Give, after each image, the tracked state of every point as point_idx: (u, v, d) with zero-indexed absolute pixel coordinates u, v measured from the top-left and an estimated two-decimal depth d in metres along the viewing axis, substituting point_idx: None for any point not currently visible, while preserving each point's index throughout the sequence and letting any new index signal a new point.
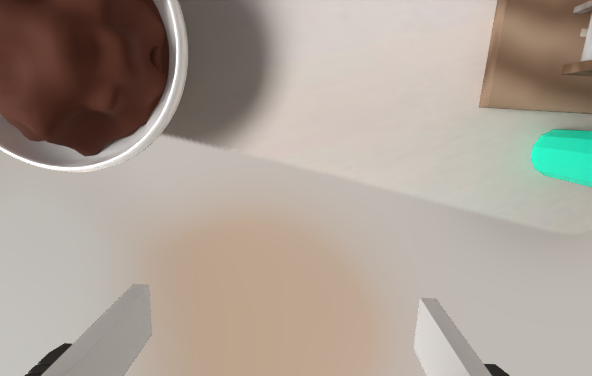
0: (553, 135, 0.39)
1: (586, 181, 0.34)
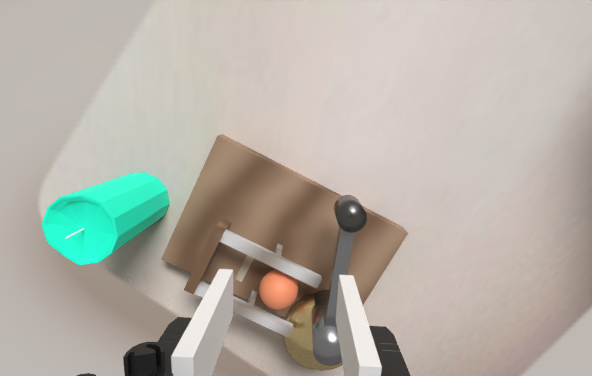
0: (160, 195, 0.35)
1: (84, 189, 0.28)
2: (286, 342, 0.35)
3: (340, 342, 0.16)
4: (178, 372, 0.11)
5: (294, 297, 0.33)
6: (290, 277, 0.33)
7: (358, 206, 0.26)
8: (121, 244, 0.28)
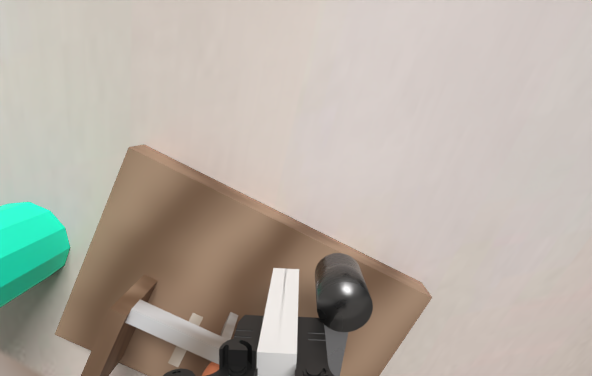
0: (48, 239, 0.22)
1: None
2: None
3: None
4: (262, 367, 0.12)
5: None
6: None
7: (356, 286, 0.14)
8: None
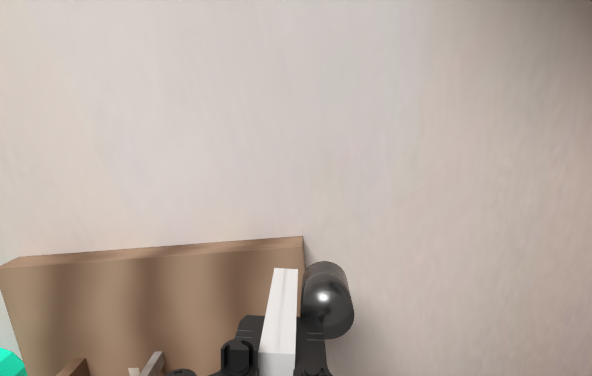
0: None
1: None
2: None
3: None
4: (264, 367, 0.12)
5: None
6: None
7: (343, 298, 0.14)
8: None
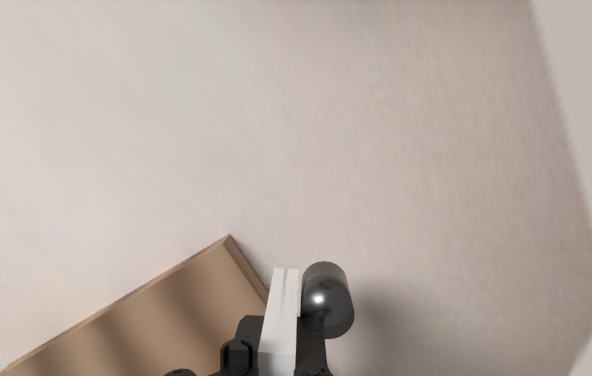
0: None
1: None
2: None
3: None
4: (263, 367, 0.12)
5: None
6: None
7: (343, 297, 0.14)
8: None
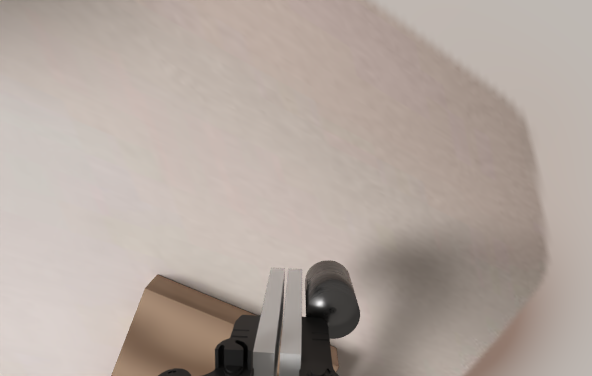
0: None
1: None
2: None
3: None
4: (258, 367, 0.12)
5: None
6: None
7: (348, 297, 0.14)
8: None
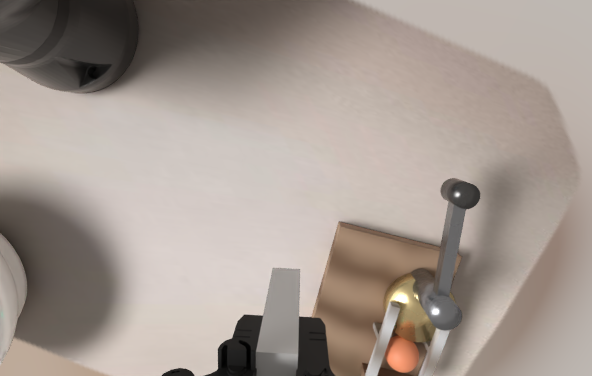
0: None
1: None
2: None
3: None
4: (261, 367, 0.12)
5: (404, 346, 0.38)
6: (388, 349, 0.39)
7: (472, 185, 0.30)
8: None
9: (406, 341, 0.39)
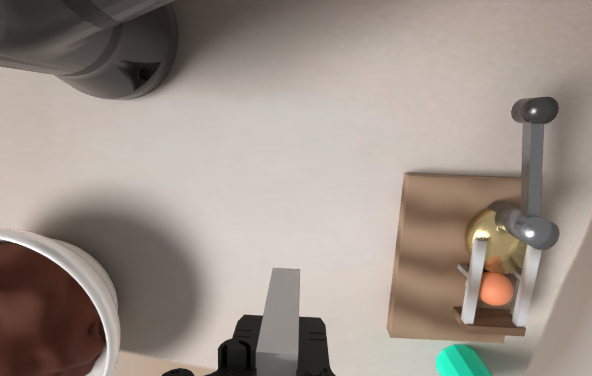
0: (450, 357, 0.45)
1: None
2: None
3: None
4: (261, 367, 0.12)
5: (496, 280, 0.38)
6: None
7: (549, 98, 0.30)
8: None
9: (497, 274, 0.39)
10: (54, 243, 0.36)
